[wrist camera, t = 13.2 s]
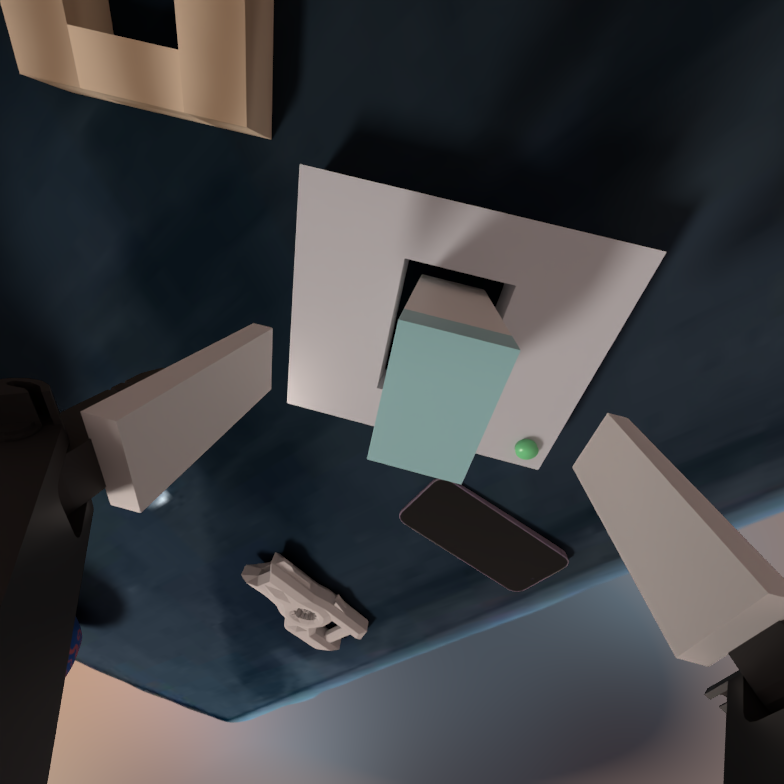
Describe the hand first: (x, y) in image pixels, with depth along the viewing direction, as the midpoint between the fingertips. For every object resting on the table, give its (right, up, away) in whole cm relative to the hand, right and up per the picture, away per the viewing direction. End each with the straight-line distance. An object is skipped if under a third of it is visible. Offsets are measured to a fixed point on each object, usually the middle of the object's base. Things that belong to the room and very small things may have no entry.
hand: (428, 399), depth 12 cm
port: (+2, +5, +9) cm, 10 cm away
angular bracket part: (-12, -25, +27) cm, 39 cm away
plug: (+2, +5, +9) cm, 10 cm away
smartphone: (+7, -13, +18) cm, 23 cm away
